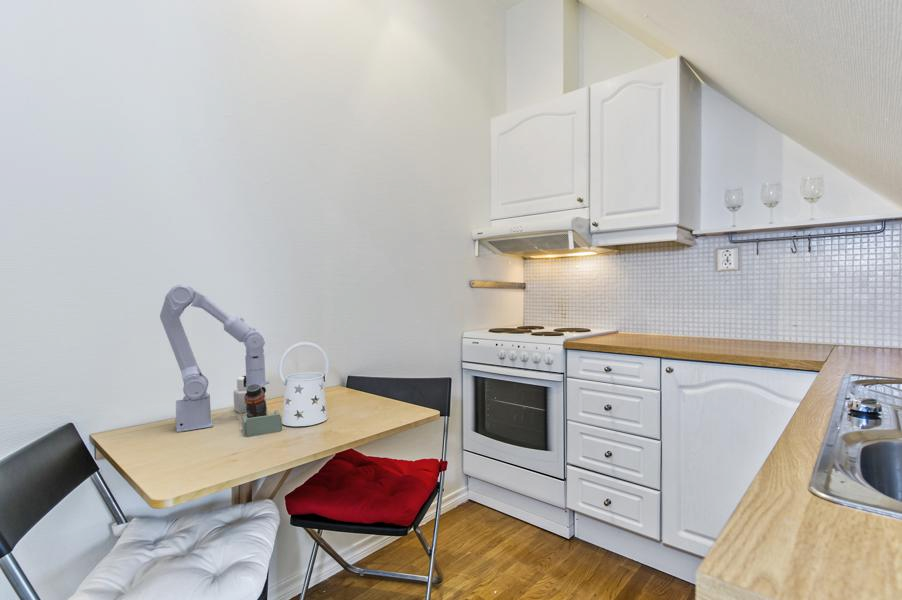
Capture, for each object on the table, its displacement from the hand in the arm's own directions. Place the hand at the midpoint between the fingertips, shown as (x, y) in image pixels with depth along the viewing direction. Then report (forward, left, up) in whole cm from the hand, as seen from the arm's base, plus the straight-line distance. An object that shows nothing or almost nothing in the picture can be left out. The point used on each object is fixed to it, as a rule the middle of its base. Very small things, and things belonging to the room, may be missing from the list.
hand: (257, 410), depth 147 cm
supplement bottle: (0, -3, -1) cm, 4 cm away
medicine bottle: (-2, +14, -3) cm, 14 cm away
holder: (0, -15, -2) cm, 15 cm away
